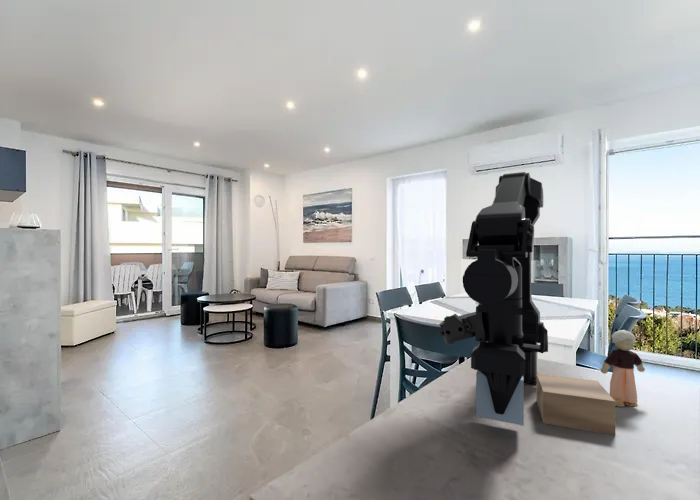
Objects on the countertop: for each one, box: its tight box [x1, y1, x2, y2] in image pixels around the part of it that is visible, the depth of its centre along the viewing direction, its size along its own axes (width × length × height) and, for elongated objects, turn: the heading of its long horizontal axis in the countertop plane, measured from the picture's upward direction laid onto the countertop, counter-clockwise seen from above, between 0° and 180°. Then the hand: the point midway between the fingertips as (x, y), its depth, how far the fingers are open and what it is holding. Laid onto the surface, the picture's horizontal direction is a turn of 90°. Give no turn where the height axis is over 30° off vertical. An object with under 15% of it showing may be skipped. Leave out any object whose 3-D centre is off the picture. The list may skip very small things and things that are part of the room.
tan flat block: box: [536, 373, 616, 436], centre depth 55 cm, size 9×9×5 cm
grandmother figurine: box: [600, 329, 646, 407], centre depth 60 cm, size 8×4×13 cm, turn 105°
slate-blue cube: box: [475, 370, 525, 427], centre depth 51 cm, size 6×6×6 cm
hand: (500, 404), depth 50 cm, fingers closed on slate-blue cube, 6 cm apart
